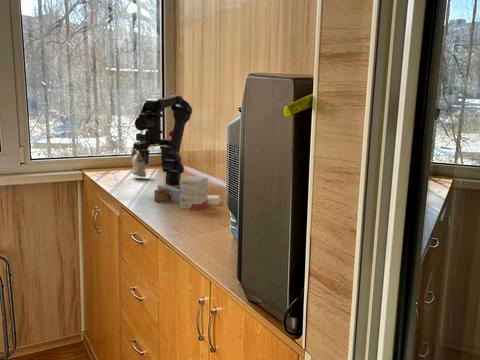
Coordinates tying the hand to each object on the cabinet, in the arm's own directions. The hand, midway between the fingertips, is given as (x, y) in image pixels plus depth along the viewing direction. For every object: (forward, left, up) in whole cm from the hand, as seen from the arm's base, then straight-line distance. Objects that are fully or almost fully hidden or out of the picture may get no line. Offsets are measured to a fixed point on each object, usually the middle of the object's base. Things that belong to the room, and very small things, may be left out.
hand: (154, 163), depth 214 cm
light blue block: (+6, +17, -12) cm, 22 cm away
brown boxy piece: (+6, +17, -12) cm, 22 cm away
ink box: (+7, +32, -12) cm, 35 cm away
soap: (-2, +32, -12) cm, 34 cm away
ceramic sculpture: (-12, -26, -12) cm, 31 cm away
